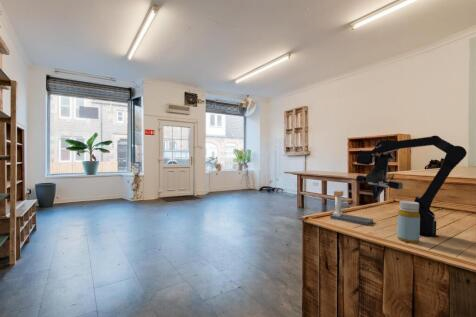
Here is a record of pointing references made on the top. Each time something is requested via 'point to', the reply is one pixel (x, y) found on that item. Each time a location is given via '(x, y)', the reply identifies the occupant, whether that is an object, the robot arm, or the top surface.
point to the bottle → (408, 222)
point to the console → (353, 219)
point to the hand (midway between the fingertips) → (375, 199)
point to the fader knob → (338, 203)
